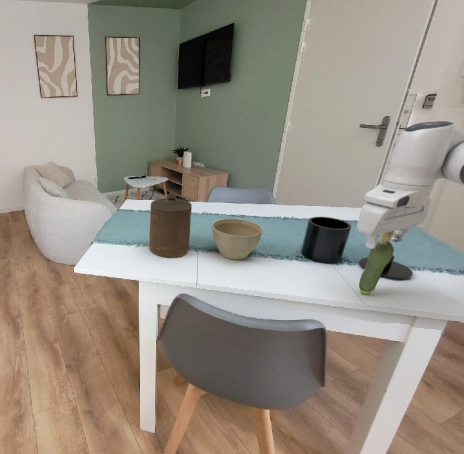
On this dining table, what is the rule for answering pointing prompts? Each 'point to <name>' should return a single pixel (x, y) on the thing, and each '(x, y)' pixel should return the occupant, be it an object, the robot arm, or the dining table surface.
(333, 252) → the trash can
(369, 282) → the vegetable
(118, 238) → the dining table surface
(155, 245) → the wooden container
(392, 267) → the bin lid
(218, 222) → the planter bowl
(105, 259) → the dining table surface
